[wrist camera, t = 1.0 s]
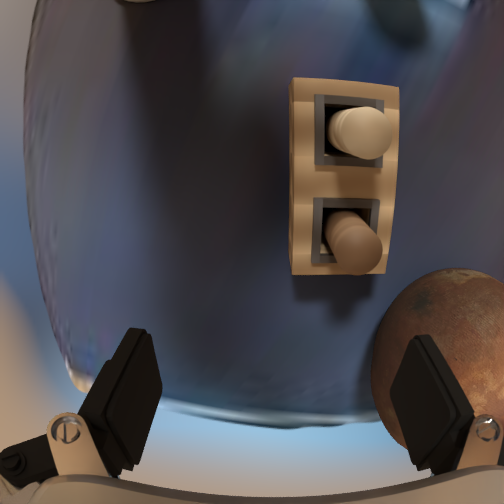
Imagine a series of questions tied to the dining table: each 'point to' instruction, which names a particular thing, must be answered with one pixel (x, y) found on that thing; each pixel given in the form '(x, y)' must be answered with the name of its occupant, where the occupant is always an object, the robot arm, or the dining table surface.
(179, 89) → the dining table surface
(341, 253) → the walnut peg
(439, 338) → the pottery
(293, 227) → the oak block
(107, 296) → the dining table surface
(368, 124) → the maple peg
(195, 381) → the dining table surface
